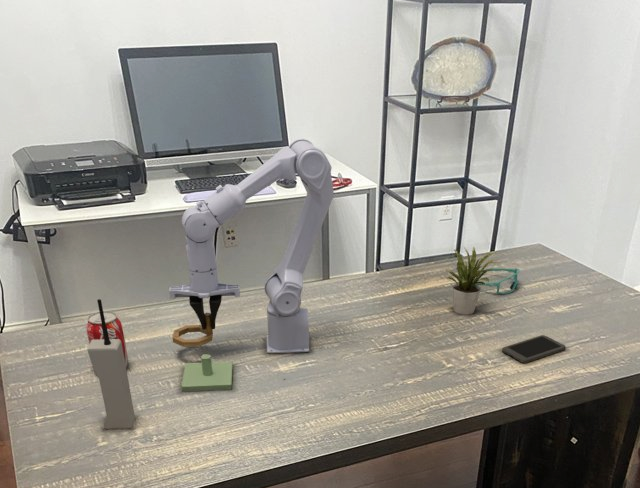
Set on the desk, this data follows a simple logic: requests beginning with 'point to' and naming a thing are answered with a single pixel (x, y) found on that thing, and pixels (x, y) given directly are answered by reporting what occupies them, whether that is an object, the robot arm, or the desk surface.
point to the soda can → (112, 326)
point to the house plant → (468, 282)
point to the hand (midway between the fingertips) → (208, 327)
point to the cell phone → (533, 348)
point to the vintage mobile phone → (112, 378)
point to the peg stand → (207, 375)
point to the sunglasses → (504, 279)
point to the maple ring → (194, 328)
